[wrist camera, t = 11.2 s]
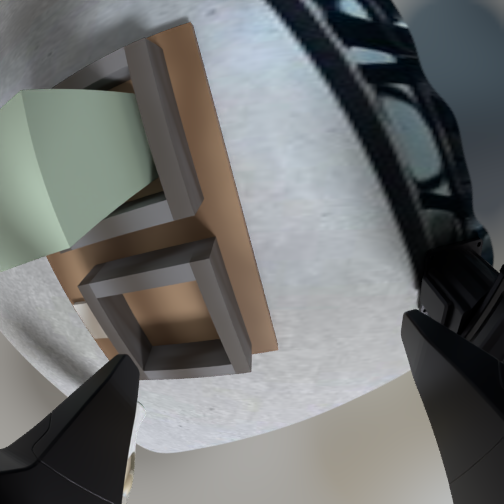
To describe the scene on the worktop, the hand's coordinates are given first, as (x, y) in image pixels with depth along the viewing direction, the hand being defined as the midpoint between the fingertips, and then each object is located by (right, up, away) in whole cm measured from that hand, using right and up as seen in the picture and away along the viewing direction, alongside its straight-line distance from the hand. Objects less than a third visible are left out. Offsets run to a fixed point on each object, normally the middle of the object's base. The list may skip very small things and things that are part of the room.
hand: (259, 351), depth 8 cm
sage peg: (-9, +9, +7) cm, 15 cm away
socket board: (-9, +4, +11) cm, 15 cm away
